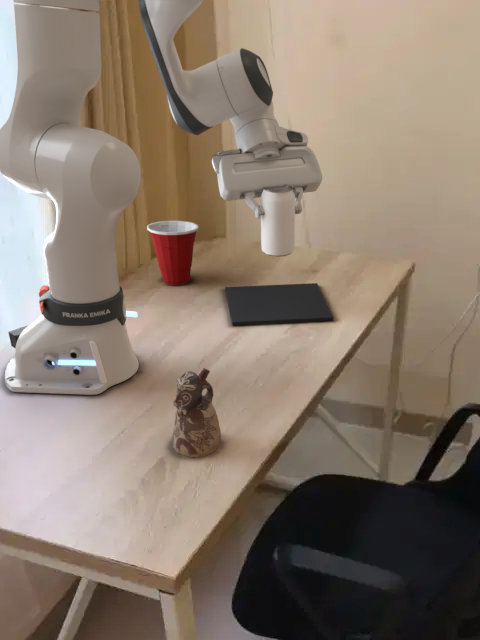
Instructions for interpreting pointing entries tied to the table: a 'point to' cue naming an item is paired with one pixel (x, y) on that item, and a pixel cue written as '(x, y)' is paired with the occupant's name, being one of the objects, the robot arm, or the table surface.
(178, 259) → the plastic cup
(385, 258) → the table surface
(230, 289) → the desk mat
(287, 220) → the can
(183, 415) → the figurine
